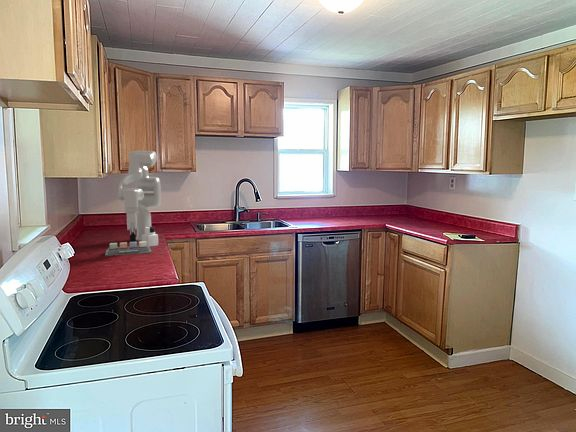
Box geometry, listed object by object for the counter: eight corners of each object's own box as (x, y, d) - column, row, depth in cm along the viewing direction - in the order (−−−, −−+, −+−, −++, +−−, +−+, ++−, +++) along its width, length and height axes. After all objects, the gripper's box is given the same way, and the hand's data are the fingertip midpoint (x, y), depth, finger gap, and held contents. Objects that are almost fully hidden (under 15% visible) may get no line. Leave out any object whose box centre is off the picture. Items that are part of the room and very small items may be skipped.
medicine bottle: (152, 244, 270) (151, 225, 268) (158, 245, 266) (157, 226, 264) (142, 245, 265) (141, 227, 263) (148, 247, 260) (147, 228, 258)
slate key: (129, 246, 248) (129, 242, 248) (136, 245, 249) (136, 241, 249) (129, 247, 244) (129, 243, 244) (137, 247, 246) (136, 242, 245)
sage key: (110, 247, 244) (109, 243, 244) (117, 247, 246) (117, 242, 245) (109, 248, 241) (109, 244, 240) (117, 248, 242) (117, 244, 242)
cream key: (139, 245, 250) (139, 241, 250) (146, 245, 251) (146, 241, 251) (139, 246, 246) (139, 242, 246) (146, 246, 248) (146, 242, 247)
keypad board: (106, 251, 248) (106, 246, 248) (150, 248, 257) (150, 244, 257) (105, 256, 235) (104, 251, 235) (151, 252, 244) (151, 248, 244)
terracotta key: (119, 246, 246) (119, 242, 246) (127, 246, 248) (127, 242, 247) (119, 248, 242) (119, 243, 242) (127, 247, 244) (127, 243, 244)
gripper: (124, 209, 249) (126, 239, 252) (124, 211, 236) (126, 243, 238) (138, 209, 252) (139, 239, 254) (138, 211, 238) (140, 243, 240)
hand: (132, 241), depth 246 cm, fingers closed
